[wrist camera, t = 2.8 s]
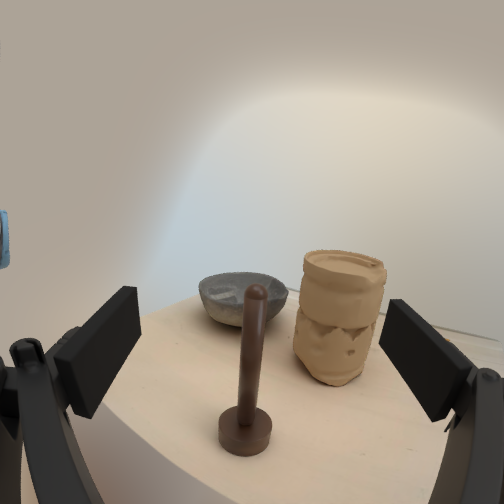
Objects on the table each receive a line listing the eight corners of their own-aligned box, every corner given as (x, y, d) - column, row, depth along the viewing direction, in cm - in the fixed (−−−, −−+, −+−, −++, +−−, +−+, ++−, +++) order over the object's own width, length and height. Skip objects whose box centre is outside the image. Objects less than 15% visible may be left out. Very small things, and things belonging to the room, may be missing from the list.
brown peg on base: (211, 448, 27) (209, 290, 22) (227, 415, 32) (233, 268, 27) (263, 461, 25) (288, 303, 20) (273, 426, 31) (296, 277, 26)
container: (371, 357, 46) (395, 261, 41) (346, 397, 36) (377, 282, 32) (311, 336, 53) (325, 245, 49) (275, 367, 44) (288, 259, 39)
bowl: (245, 295, 71) (247, 264, 69) (301, 322, 59) (306, 287, 57) (182, 313, 59) (181, 277, 57) (235, 352, 47) (237, 311, 45)
